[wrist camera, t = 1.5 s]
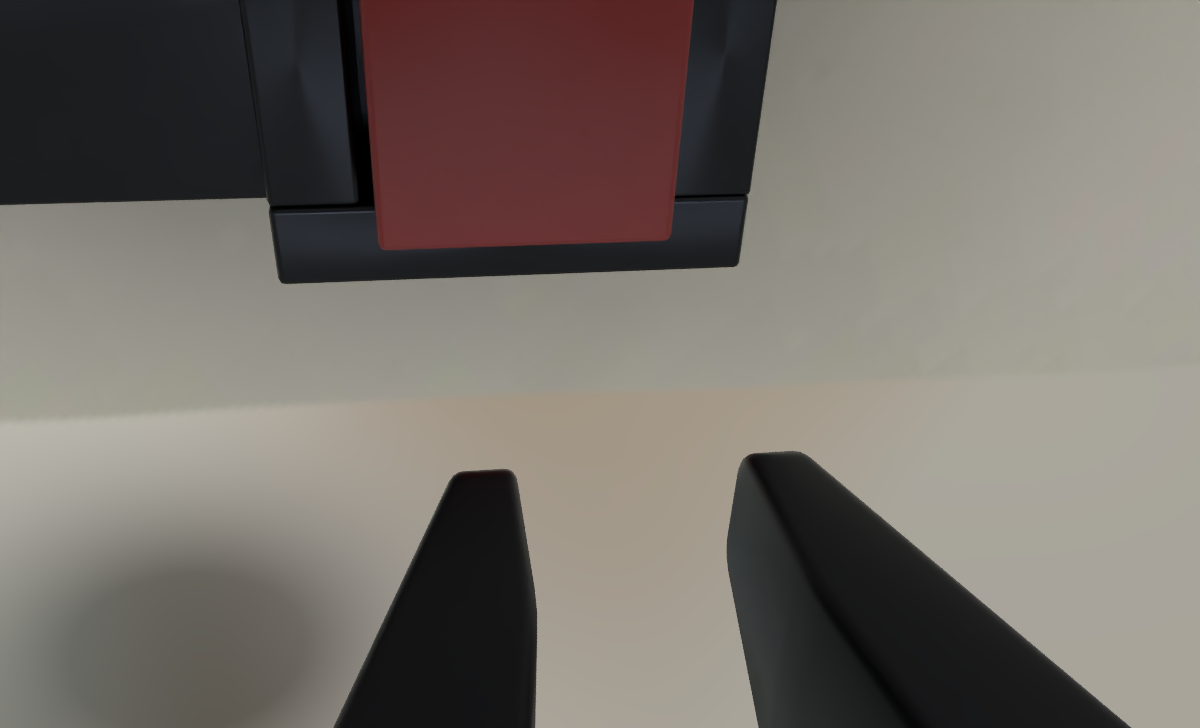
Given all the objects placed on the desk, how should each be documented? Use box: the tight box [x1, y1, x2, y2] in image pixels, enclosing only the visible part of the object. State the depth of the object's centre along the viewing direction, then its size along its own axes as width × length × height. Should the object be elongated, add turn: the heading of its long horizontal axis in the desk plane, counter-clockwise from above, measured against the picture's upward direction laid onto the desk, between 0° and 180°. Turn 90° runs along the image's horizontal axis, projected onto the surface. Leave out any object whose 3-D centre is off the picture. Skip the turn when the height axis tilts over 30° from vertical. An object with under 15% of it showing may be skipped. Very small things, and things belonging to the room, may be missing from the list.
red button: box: [358, 0, 694, 250], centre depth 14 cm, size 4×4×2 cm
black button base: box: [0, 0, 777, 284], centre depth 15 cm, size 13×6×4 cm, turn 87°
